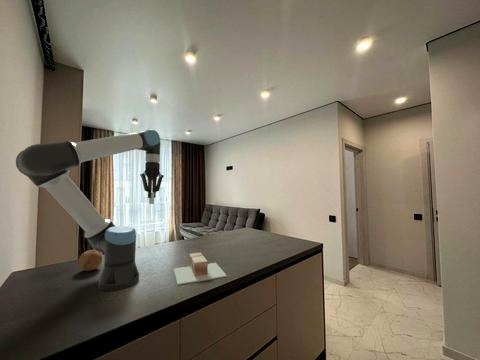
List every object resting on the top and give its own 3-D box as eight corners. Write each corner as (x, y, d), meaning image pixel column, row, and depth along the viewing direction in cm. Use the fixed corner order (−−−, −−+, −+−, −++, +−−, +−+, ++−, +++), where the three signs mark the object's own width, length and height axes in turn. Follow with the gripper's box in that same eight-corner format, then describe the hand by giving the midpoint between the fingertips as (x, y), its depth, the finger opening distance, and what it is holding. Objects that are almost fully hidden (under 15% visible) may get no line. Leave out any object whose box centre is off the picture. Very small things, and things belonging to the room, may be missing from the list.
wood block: (189, 253, 107) (194, 263, 93) (200, 252, 109) (207, 261, 96) (189, 265, 107) (194, 276, 93) (200, 263, 109) (207, 274, 95)
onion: (103, 265, 108) (104, 246, 108) (99, 272, 99) (99, 251, 99) (81, 268, 104) (82, 248, 105) (74, 275, 95) (75, 253, 95)
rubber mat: (173, 269, 102) (173, 268, 102) (215, 263, 111) (215, 262, 111) (177, 285, 86) (177, 283, 86) (226, 276, 94) (226, 275, 94)
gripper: (160, 164, 123) (159, 203, 122) (138, 161, 113) (136, 204, 112) (166, 162, 118) (165, 203, 117) (143, 160, 108) (142, 204, 107)
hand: (151, 203), depth 114 cm, fingers closed
